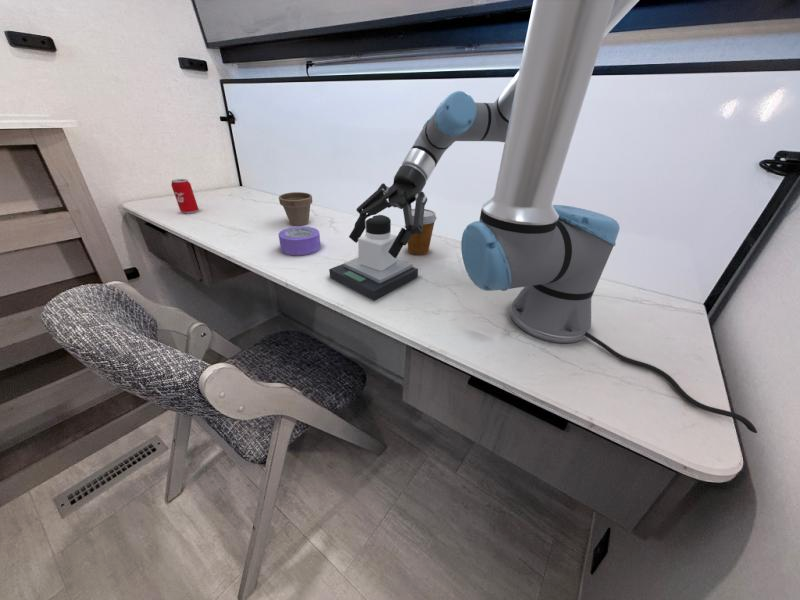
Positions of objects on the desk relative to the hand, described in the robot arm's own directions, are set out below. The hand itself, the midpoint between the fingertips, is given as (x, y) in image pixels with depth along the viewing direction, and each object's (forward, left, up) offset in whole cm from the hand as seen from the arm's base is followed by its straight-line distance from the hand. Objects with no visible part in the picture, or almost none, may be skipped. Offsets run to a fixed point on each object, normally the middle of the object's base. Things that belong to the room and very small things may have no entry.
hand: (371, 247), depth 74 cm
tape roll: (+30, +1, -9) cm, 31 cm away
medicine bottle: (0, -2, -5) cm, 6 cm away
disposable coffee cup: (+3, -23, -9) cm, 25 cm away
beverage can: (+93, +11, -9) cm, 94 cm away
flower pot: (+51, -12, -9) cm, 53 cm away
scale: (0, -1, -9) cm, 9 cm away
